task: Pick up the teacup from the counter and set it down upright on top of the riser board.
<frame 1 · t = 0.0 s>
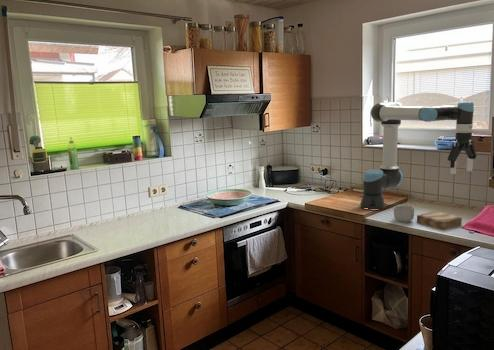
hand: (461, 172, 219), 28 cm above the worktop, fingers open, 13 cm apart
riser: (438, 223, 224), on the worktop
teacup: (402, 220, 232), on the worktop
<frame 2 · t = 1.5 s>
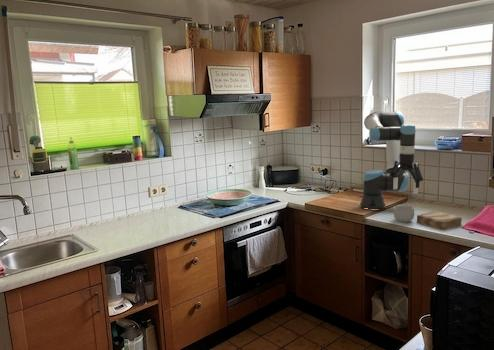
hand: (405, 191, 229), 17 cm above the worktop, fingers open, 13 cm apart
nothing on the worktop moved.
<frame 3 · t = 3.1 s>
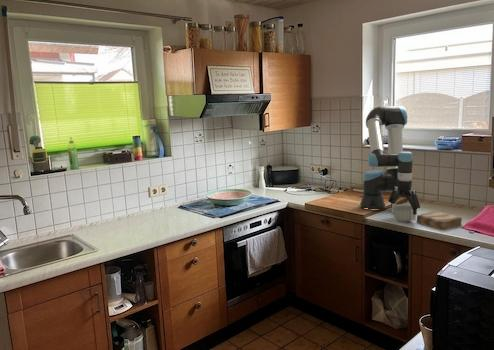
hand: (403, 217, 232), 2 cm above the worktop, fingers closed on teacup, 13 cm apart
teacup: (402, 220, 233), on the worktop, touching gripper
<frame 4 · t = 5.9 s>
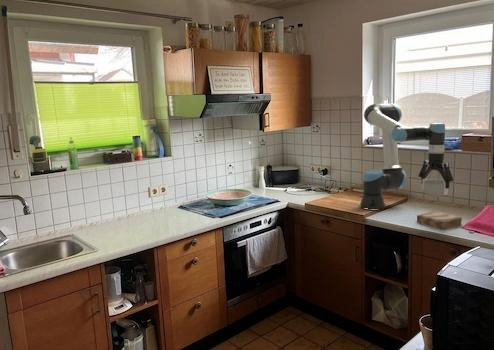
hand: (434, 192, 222), 17 cm above the worktop, fingers closed on teacup, 12 cm apart
teacup: (433, 195, 222), point 16 cm above the worktop, touching gripper
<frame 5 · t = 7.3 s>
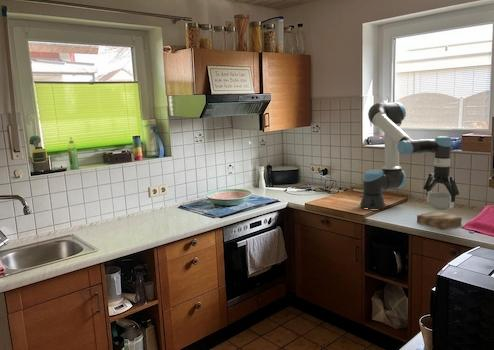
hand: (439, 205, 222), 10 cm above the worktop, fingers closed on teacup, 12 cm apart
teacup: (439, 208, 223), point 9 cm above the worktop, touching gripper
when the fingers open (7 cm above the worktop, at t = 8.6 s): teacup stays where it is, resting on riser.
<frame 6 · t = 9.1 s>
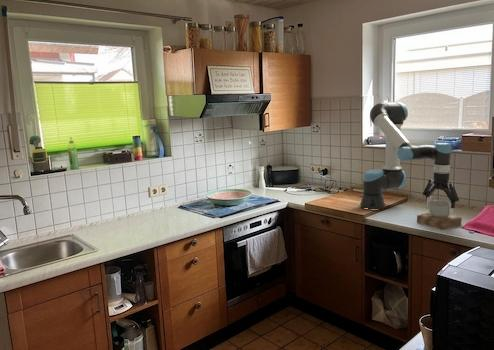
hand: (439, 211, 223), 7 cm above the worktop, fingers open, 13 cm apart
teacup: (438, 216, 224), point 4 cm above the worktop, touching riser
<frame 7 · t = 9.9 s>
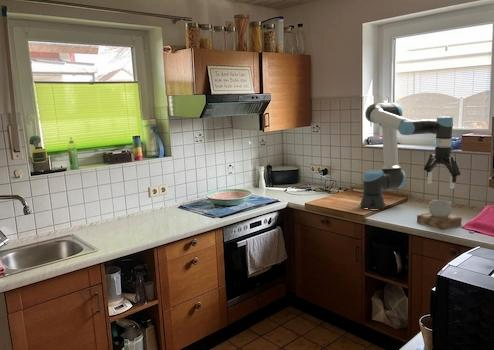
hand: (440, 185, 221), 21 cm above the worktop, fingers open, 13 cm apart
nothing on the worktop moved.
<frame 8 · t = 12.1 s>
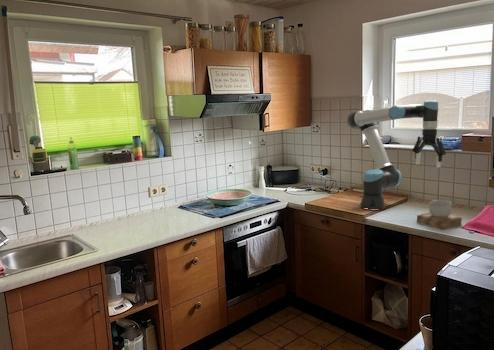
hand: (427, 165, 237), 29 cm above the worktop, fingers open, 13 cm apart
nothing on the worktop moved.
at the end: teacup inside the target area on the riser (0.4 cm from its centre), point 4.0 cm above the riser's base; teacup tilted 0°; the gripper is holding nothing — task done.
